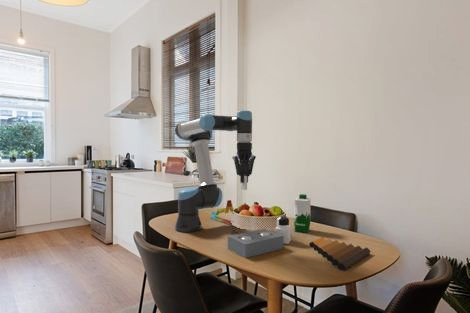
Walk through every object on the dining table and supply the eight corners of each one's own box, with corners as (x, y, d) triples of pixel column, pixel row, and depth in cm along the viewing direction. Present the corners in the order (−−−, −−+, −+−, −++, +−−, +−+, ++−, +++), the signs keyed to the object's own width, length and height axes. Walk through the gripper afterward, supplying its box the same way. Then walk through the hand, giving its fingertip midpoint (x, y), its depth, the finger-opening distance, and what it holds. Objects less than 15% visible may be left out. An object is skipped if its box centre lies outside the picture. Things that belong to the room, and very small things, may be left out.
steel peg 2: (257, 243, 144) (257, 233, 144) (265, 241, 147) (265, 231, 147) (264, 246, 140) (264, 235, 140) (272, 244, 143) (272, 234, 143)
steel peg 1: (238, 247, 138) (238, 237, 138) (247, 245, 141) (247, 235, 141) (244, 251, 134) (244, 240, 134) (253, 248, 137) (253, 238, 137)
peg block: (227, 248, 140) (227, 235, 140) (264, 240, 153) (264, 228, 152) (245, 258, 129) (245, 244, 129) (283, 248, 141) (283, 235, 141)
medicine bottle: (291, 239, 154) (291, 216, 153) (288, 244, 147) (289, 219, 146) (277, 238, 156) (277, 215, 156) (274, 242, 149) (274, 218, 149)
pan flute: (345, 272, 115) (370, 255, 133) (345, 264, 115) (370, 248, 133) (291, 255, 133) (319, 242, 151) (291, 248, 133) (319, 236, 151)
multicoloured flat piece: (210, 219, 197) (210, 196, 197) (214, 218, 199) (214, 196, 199) (240, 229, 174) (240, 203, 173) (244, 228, 176) (244, 203, 175)
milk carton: (311, 229, 173) (311, 194, 172) (308, 233, 164) (309, 197, 164) (295, 227, 176) (296, 193, 175) (292, 231, 168) (293, 196, 167)
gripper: (237, 142, 143) (237, 191, 144) (259, 142, 150) (259, 189, 151) (229, 142, 149) (229, 189, 150) (250, 142, 156) (250, 187, 157)
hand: (244, 189), depth 151 cm, fingers closed
